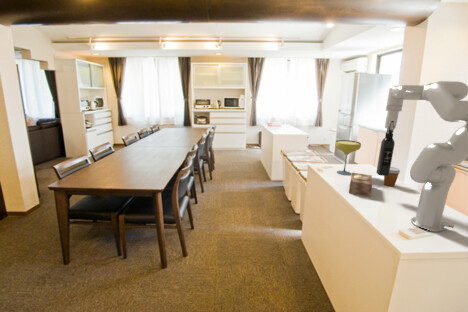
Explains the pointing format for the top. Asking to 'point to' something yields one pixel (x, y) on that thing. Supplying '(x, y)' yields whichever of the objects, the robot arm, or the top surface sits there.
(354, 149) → the cocktail glass
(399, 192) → the top surface
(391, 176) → the disposable coffee cup
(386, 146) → the wine bottle
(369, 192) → the brown rectangular block
